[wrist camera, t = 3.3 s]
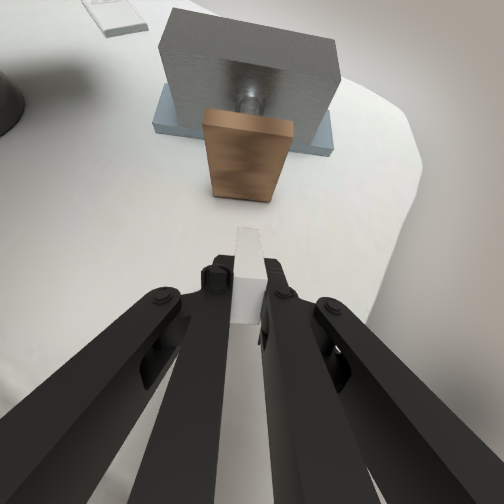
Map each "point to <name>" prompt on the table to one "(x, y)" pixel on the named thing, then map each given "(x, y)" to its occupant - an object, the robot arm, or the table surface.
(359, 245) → the table surface
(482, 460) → the robot arm
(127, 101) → the table surface
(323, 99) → the housing
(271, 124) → the brown wooden block
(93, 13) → the external hard drive
